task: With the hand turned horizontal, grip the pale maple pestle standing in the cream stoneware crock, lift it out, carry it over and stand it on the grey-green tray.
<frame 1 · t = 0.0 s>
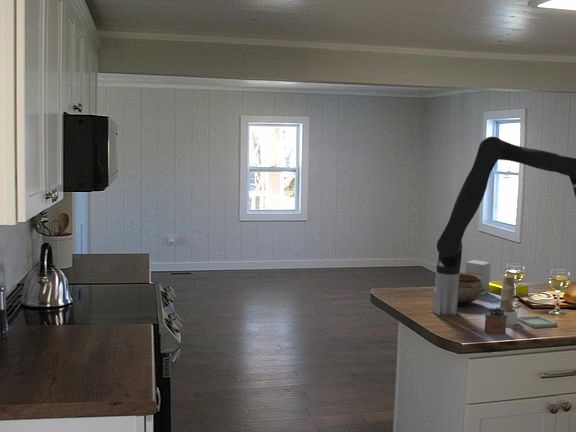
pestle: (505, 321, 253), point 1 cm above the counter, touching crock
supplement box: (476, 293, 304), on the counter
brown wooden bowl: (459, 303, 283), on the counter
tray: (535, 324, 253), on the counter
crock: (505, 323, 253), on the counter
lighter: (494, 334, 238), on the counter
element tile: (506, 293, 308), on the counter
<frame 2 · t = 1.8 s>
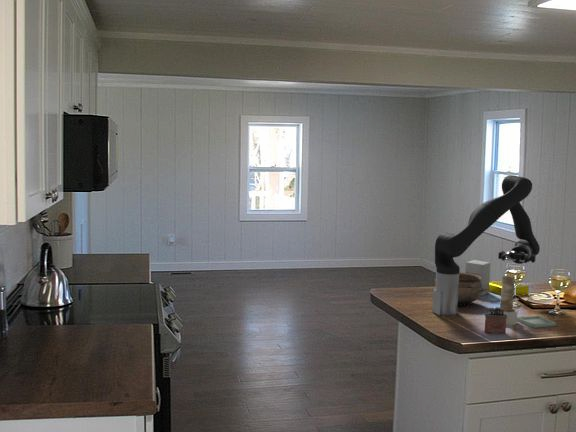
hand: (514, 259, 260), 24 cm above the counter, tool horizontal, fingers open, 8 cm apart
nothing on the counter moved.
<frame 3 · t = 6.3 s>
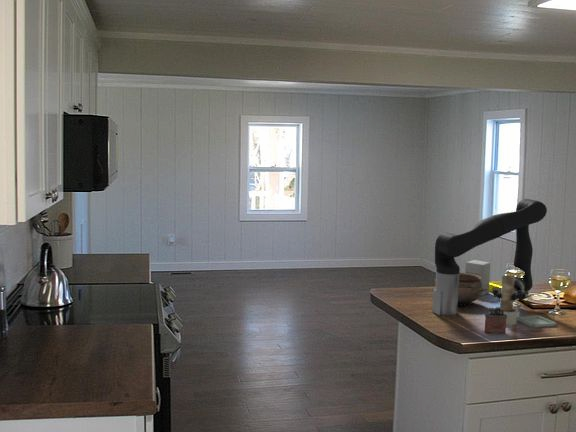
hand: (506, 297, 250), 11 cm above the counter, tool horizontal, fingers closed on pestle, 4 cm apart
pestle: (505, 321, 253), point 1 cm above the counter, touching crock, gripper
everything else where it was.
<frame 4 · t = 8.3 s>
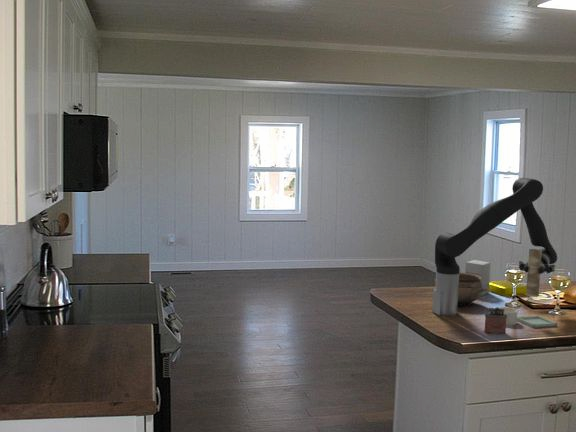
hand: (533, 270, 248), 22 cm above the counter, tool horizontal, fingers closed on pestle, 4 cm apart
pestle: (532, 295, 252), point 12 cm above the counter, touching gripper
everything else where it was.
when the fingers open (13 cm above the counter, at t = 10.6 s): pestle drops 1 cm, resting on tray.
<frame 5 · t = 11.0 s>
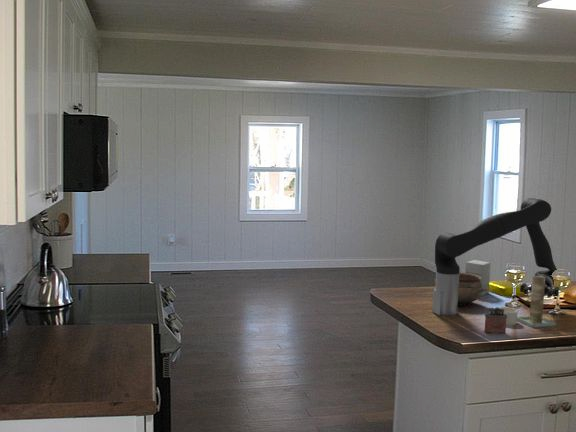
hand: (537, 293, 249), 13 cm above the counter, tool horizontal, fingers open, 8 cm apart
pestle: (535, 322, 253), point 1 cm above the counter, touching tray
everything else where it was.
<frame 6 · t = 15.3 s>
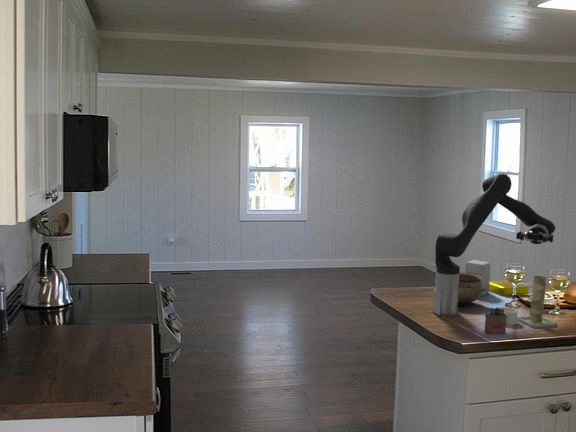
hand: (532, 239, 263), 32 cm above the counter, tool horizontal, fingers open, 8 cm apart
nothing on the counter moved.
at the end: pestle 0.1 cm from the tray (horizontally); pestle tilted 1°; pestle point 1.1 cm above the counter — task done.
